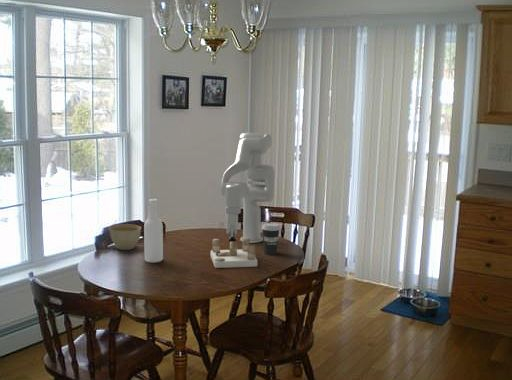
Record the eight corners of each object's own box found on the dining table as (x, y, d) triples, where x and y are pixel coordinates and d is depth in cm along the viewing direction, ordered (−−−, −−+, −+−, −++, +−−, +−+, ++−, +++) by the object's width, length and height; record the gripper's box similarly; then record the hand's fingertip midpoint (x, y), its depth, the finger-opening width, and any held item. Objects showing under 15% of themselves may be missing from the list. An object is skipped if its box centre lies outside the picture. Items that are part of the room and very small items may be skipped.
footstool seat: (210, 256, 294) (210, 249, 293) (249, 254, 298) (250, 248, 297) (215, 267, 274) (215, 261, 274) (257, 266, 278) (257, 259, 278)
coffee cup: (257, 254, 300) (258, 225, 297) (266, 249, 308) (266, 221, 305) (274, 256, 295) (275, 227, 293) (282, 252, 304) (283, 223, 301)
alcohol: (161, 257, 290) (161, 197, 285) (164, 262, 282) (163, 200, 277) (143, 258, 288) (142, 198, 283) (145, 263, 279) (145, 201, 274)
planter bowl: (137, 252, 298) (137, 231, 297) (106, 251, 299) (105, 230, 297) (144, 244, 314) (144, 224, 313) (114, 243, 315) (113, 223, 313)
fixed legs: (212, 250, 293) (212, 238, 292) (248, 249, 296) (249, 237, 295) (216, 261, 275) (216, 248, 274) (255, 259, 278) (255, 247, 277)
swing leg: (216, 256, 282) (216, 243, 281) (215, 254, 286) (215, 241, 285) (237, 255, 284) (237, 242, 283) (236, 253, 288) (236, 241, 287)
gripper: (226, 206, 294) (225, 242, 297) (224, 212, 279) (223, 250, 282) (241, 207, 294) (240, 242, 297) (240, 213, 279) (239, 250, 282)
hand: (232, 246), depth 289 cm, fingers closed
